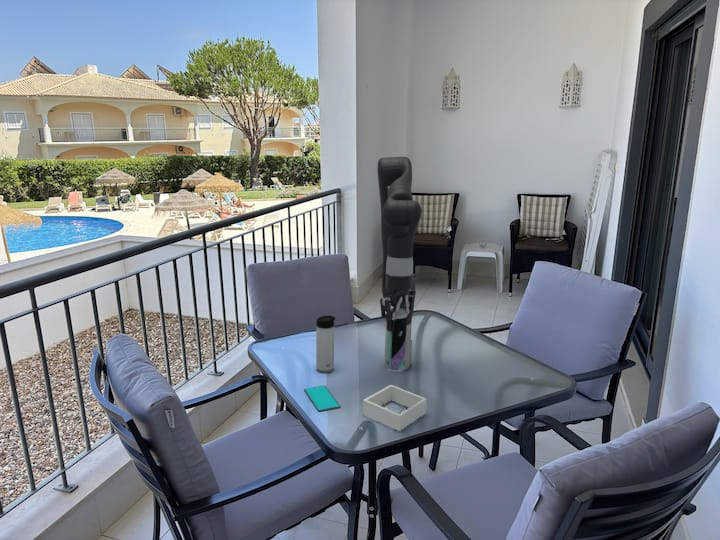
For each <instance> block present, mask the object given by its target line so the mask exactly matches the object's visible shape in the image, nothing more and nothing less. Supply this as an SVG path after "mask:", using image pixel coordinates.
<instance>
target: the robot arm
mask: <svg viewBox="0 0 720 540" xmlns="http://www.w3.org/2000/svg"><path fill="white" fill-rule="evenodd" d="M376 168H377V181H378V191H379V200H380V202H379V203H380V227H381V228H380V232H381V244H382V245H381V246H382V276H381V277H382V280H381V293H382V297H381V298H380V300H379V302H380V303H379V305H380V313H381V315H380V316H381V318H384V319H385V335H384V336H385V338H384V339H385V341H384V343H385V344H384V367H385V368H386V355H387V331H390V332H394V330H395V315H396V313H397V312H398V310H399V307H400V306H401V307H402V308H403V309H404V310H406V311H407V329H406V350H405V369H404V370H403V371H405V370H409V368H410V366H411V364H412V348H413V347H412V345H413V341H412V321H413V316H414V312H415V311H414V310H415V299H416V294H417V293H416V292H417V291H416V284H415V282H414V281H413V279H414V278H413V276H414V259H413V258H414V256H413V254H414V242H415V241H414V240H415V235H416V233H417V229H418V227H419V223H420V221H421V217H422V212H423V211H422V206H421V204H420V203H419V202H418V201H416V200H413V194H412V184H413V166H412V162H411V160H410V158H409V157H407V156H391V157H389V156H388V157H387V156H386V157H381V158H379V159H378V161H377V167H376ZM393 307H395V308H394V309H393ZM391 311H393V312H392V315H391Z"/></svg>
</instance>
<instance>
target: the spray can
mask: <svg viewBox="0 0 720 540" xmlns="http://www.w3.org/2000/svg"><path fill="white" fill-rule="evenodd" d="M392 308H393V309H394V308H395V307H392ZM392 312H393V311H391V315H392ZM406 329H407V311H406V310H404V309H403V308H402V307H401V306H400V307H399V310H398V312H397V313H396V315H395V330H394V332H390V331H387V355H386V367H385V370H387V371H388V372H390V373H402V372H403V371H405V370H404V369H405V350H406Z"/></svg>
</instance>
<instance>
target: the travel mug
mask: <svg viewBox="0 0 720 540" xmlns="http://www.w3.org/2000/svg"><path fill="white" fill-rule="evenodd" d="M335 320H336V316H333V315H322V316H319V317H318V318H316V329H315V331H316V334H315V336H316V343H315V344H316V346H315V347H316V348H315V349H316V356H315V357H316V359H315V360H316V365H315V366H316V371H317V372H319V373H321V374H328V373H331V372H333V371H334V370H335Z"/></svg>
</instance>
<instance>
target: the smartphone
mask: <svg viewBox="0 0 720 540" xmlns="http://www.w3.org/2000/svg"><path fill="white" fill-rule="evenodd" d="M303 390H304V393H305V394H306V396H307V397H308V400H310V402H311V403H312V405H313V406H314V408H315V409H316V412H318V413H322V412H326V411H327V412H328V411H331V410H333V411H334V410H338V409H341V405H340V404H339V402H338V401H337V400H336V398H335V397H334V396H333V394H332V393H331V392H330V390H329V389H328V388H327V386H326V385H320V386H314V387H307V388H304V389H303Z"/></svg>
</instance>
